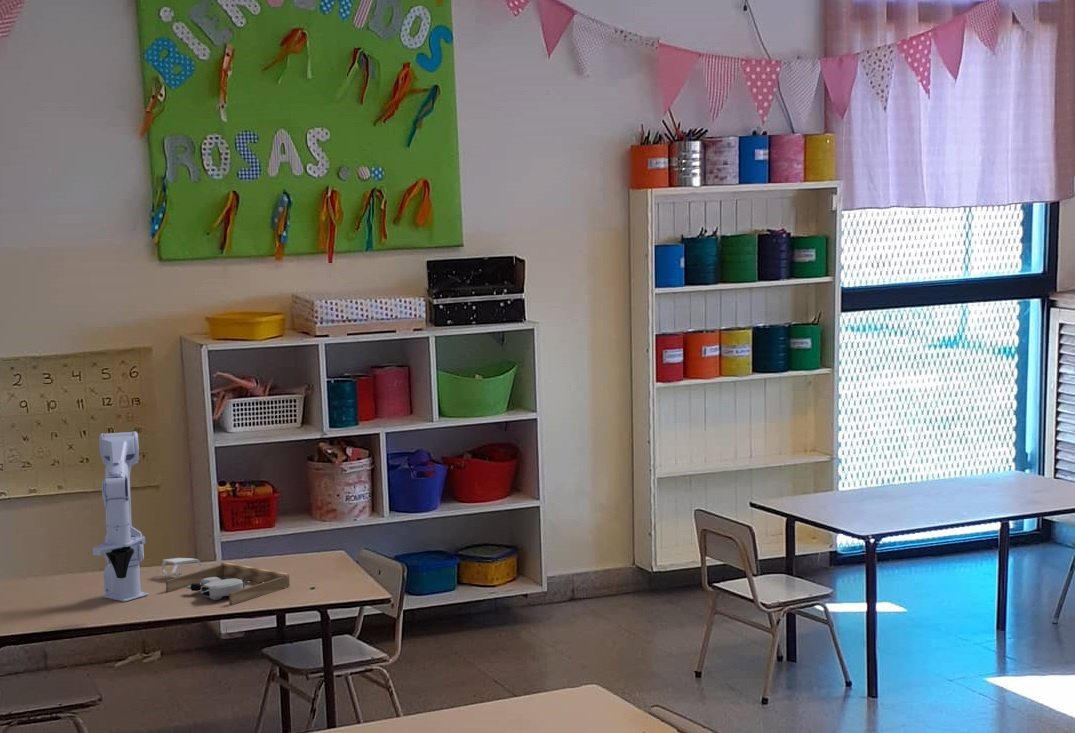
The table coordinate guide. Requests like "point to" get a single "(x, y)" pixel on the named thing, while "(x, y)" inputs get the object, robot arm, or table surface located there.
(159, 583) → the table surface
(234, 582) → the robot toy
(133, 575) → the robot arm
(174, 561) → the origami figure
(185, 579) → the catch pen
